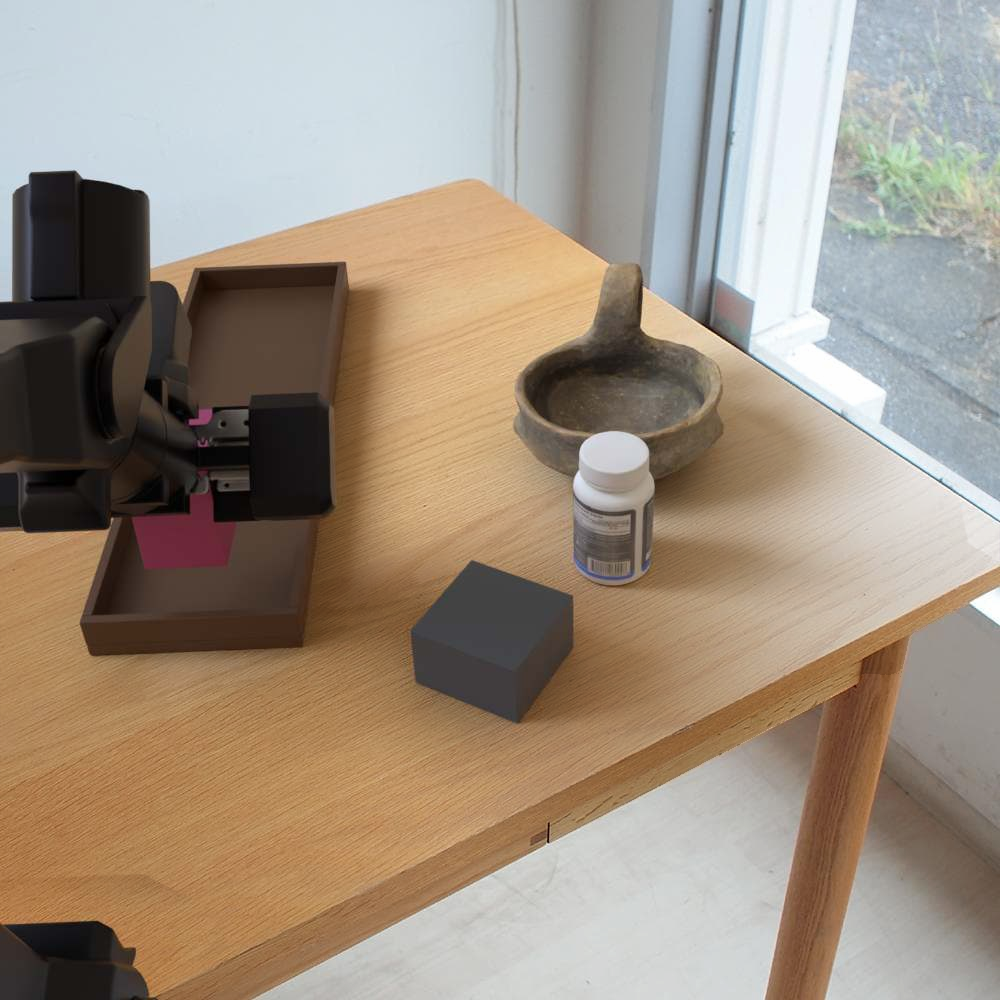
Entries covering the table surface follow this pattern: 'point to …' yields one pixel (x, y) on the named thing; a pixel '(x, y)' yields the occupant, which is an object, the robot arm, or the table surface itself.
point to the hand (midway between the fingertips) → (187, 484)
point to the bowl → (619, 388)
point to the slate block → (493, 640)
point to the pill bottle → (613, 509)
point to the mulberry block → (186, 531)
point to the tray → (256, 544)
